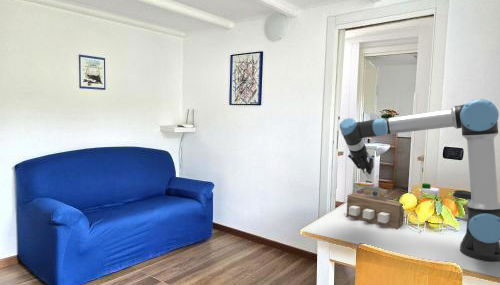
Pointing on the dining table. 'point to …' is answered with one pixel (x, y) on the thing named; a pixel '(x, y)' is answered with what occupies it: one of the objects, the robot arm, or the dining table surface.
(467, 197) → the coffee cup
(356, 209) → the button left
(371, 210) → the button middle
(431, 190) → the milk carton
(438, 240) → the dining table surface
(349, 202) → the console
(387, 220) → the button right
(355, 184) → the candy bar box
